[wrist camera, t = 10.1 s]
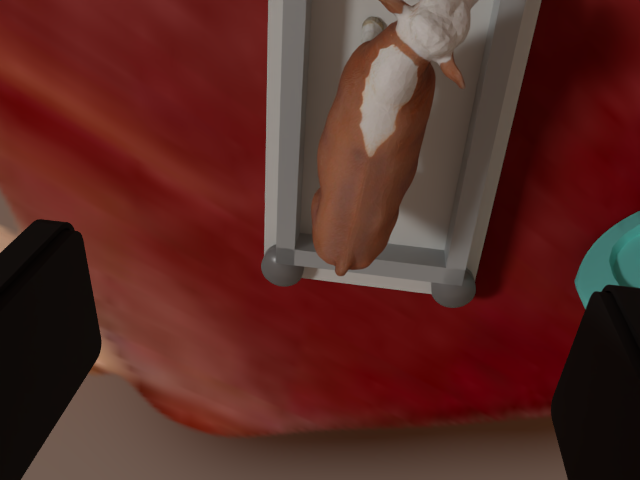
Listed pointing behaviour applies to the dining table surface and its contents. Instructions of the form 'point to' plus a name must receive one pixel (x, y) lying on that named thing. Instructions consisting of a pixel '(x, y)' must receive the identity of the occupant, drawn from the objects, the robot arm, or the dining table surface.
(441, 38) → the bull figurine
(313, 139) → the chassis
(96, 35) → the dining table surface
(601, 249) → the decorative dice
